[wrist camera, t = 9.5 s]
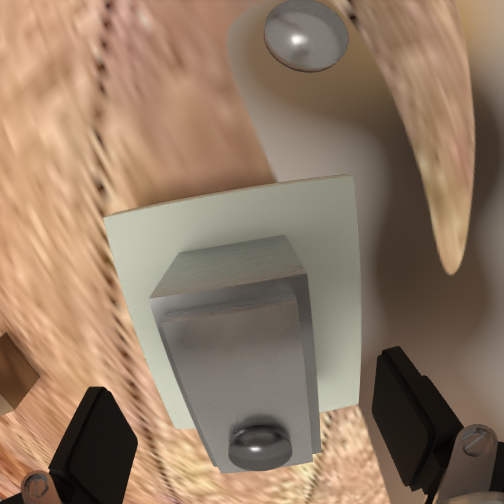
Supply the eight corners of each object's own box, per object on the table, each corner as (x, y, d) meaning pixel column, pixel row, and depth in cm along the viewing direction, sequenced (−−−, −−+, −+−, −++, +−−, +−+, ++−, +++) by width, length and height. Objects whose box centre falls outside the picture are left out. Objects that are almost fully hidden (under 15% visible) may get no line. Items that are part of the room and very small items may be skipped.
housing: (178, 252, 14) (135, 319, 8) (284, 234, 14) (317, 291, 8) (218, 397, 17) (212, 489, 11) (303, 385, 17) (326, 474, 11)
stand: (130, 206, 18) (103, 217, 14) (330, 172, 18) (353, 175, 14) (183, 391, 22) (175, 429, 18) (342, 368, 21) (358, 403, 18)
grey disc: (255, 11, 15) (255, 3, 14) (330, 3, 15) (334, -3, 14) (275, 78, 16) (276, 73, 15) (353, 68, 16) (358, 64, 15)
